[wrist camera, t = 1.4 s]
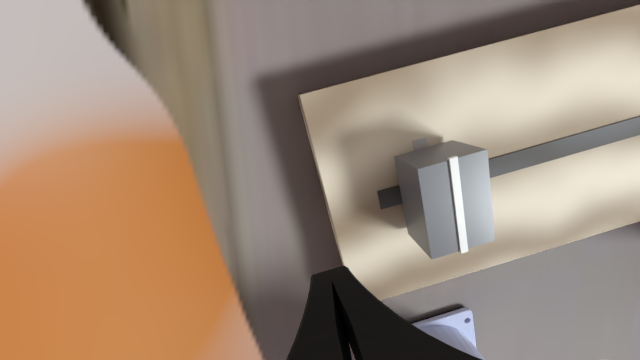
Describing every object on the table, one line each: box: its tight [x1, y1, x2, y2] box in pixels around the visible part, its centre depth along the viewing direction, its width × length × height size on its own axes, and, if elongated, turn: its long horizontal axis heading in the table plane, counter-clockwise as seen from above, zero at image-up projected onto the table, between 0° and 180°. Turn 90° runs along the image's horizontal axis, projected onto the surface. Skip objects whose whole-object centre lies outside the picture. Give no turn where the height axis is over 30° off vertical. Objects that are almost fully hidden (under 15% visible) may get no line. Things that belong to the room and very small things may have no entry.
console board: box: [297, 4, 640, 300], centre depth 20 cm, size 14×26×3 cm, turn 104°
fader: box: [394, 140, 495, 259], centre depth 16 cm, size 5×4×3 cm
